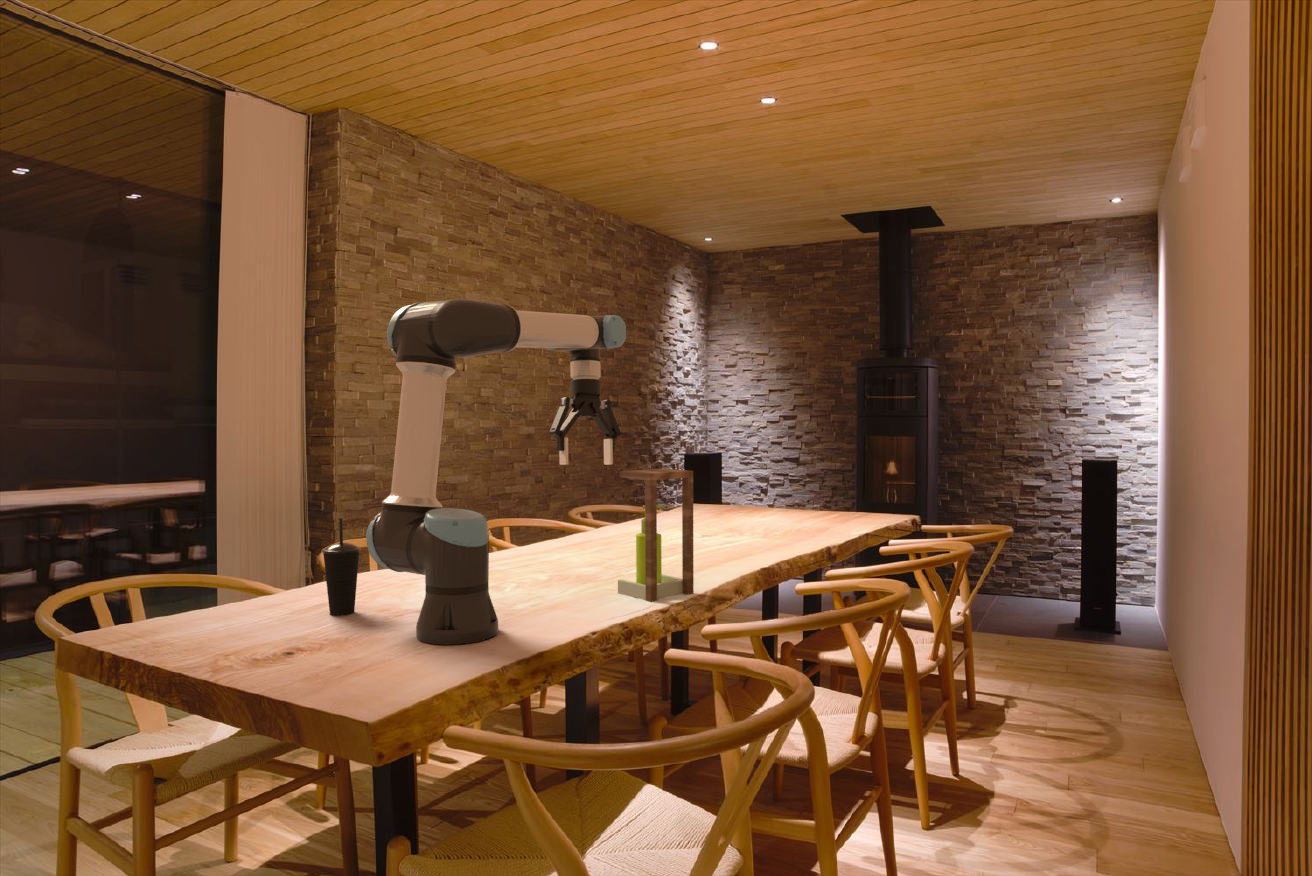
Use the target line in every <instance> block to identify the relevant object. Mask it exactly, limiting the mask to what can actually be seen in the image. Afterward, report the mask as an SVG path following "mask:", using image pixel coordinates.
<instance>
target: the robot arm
mask: <svg viewBox="0 0 1312 876" xmlns="http://www.w3.org/2000/svg"><path fill="white" fill-rule="evenodd" d="M386 332H387V333H386V339H387V343H388V346H389V347H390V348H391V349H390V350H391V352H392V354H393V355H394V356H395V357H396V361H395V366H396V367H397V369H398V370H399V371H400V373H401V374H402V380H401V390H400V400H399V407H398V408H399V410H398V419H397V420H398V421H397V429H396V438H395V440H396V441H395V449H394V450H395V451H394V459H393V460H394V461H393V467H392V469H393V470H392V479H391V480H392V481H391V489H390V494H389V495H388V496H387V497H385V498H384V499H383V500H382V502H381V510H380V513H379V512H378V514H377V515H375V516H374V518H373V520H371V521H370V522H369V524H368V526H367V530H366V534H365V535H366V538H365V540H366V542H365V543H366V547H367V550H368V553H369V555H370V556H371V558H372V559H373V560H374V562H375V563H376V564H378V565H379V566H381V568H382V567H383V568H385V569H388V570H391V571H394V572H397V573H410V574H416V575H423V576H425V578H424V579H425V581H424V582H425V595H424V596H425V597H424V599H423V603H422V606H421V610H420V612H419V616H418V619H417V622H416V626H415V627H416V628H415V630H416V632H415V634H416V637H415V638H416V639H417V640H418V641H421V642H423V643H428V644H433V645H434V644H435V645H461V644H460V643H465V644H470V643H472V644H473V643H477V641H478V642H481V641H485V639H486V640H488V638H489V639H491V637H492V638H494V637H495V636H497V634H499V619H498V616H497V614H496V610H495V607H494V605H493V602H492V598H491V595H490V593H489V591H490V589H489V574H490V573H489V568H490V567H489V563H490V561H489V558H490V557H489V556H490V554H489V553H490V548H489V547H490V546H489V545H490V544H489V543H490V534H489V529H488V528H489V527H488V526H489V525H488V520H487V518H486V517H485V516H484V515H483V514H482V513H479V511H478V512H477V511H475V510H470V509H463V508H455V507H453V508H452V507H443V504H442V503H441V502H440V501H439V500H438V499H437V496H436V494H437V484H438V483H437V482H438V473H439V463H440V454H441V453H440V452H441V442H442V431H443V424H444V423H443V421H444V411H445V402H446V389H447V381H448V379H449V378H450V377H451V376H452V375H453V374H455V373H456V364H457V359H466V358H471V357H476V356H477V357H478V356H482V355H487V354H493V353H494V354H495V353H509V352H511V351H513V350H514V349H516V348H519V349H520V348H522V349H523V348H524V349H525V348H527V349H530V348H532V349H535V348H536V349H545V350H546V351H547V350H548V351H550V352H551V351H554V352H561V353H565V354H566V353H567V354H569V355H570V356H569V359H570V361H569V362H570V370H569V371H570V373H569V374H570V379H572V380H571V381H570V383H569V384H570V396H571V397H570V396H567V397H566V396H565V397H561V398H560V400H559V408H558V410H557V412H556V415H555V416H554V419H553V422H552V425H551V427H550V429H549V431H548V432H549V433H548V434H549V435H550V436H553V437H554V438H555V439H556V450H557V451H558V453H559V455H558V456H559V466H560V465H561V466H562V465H563V466H564V465H569V437H566V436H567V434H568V433H569V431H570V429H571V428H572V427H573V425H574V424H575V423H576V421H577V420H578V419H579V418H580V417H581V418H582V417H583V418H584V417H585V418H591V419H592V420H594V421H595V424H597V426H598V427H599V429H600V430H601V432H602V434H603V435H604V436H605V437H606V438H604V439H603V465H605V466H609V465H613V464H614V457H613V456H614V455H613V454H614V452H615V450H616V449H615V440H616V439H617V438H618V437H620V436H622V432H621V430H620V427H619V425H618V422H617V420H616V417H615V415H614V412H613V410H612V404H611V403H612V402H611V400H610V399H604V400H603V399H602V400H601V399H600V397H601V393H602V392H601V391H602V387H601V385H602V384H601V381H600V378H601V377H602V372H601V371H602V369H601V350H603V349H604V350H605V349H607V350H608V349H609V350H610V349H616V348H617V349H618V348H620V347H621V346H622V345H624V343H625V341H626V340H627V339H626V338H627V326H626V323H625V320H624V319H623V318H622V317H621V316H619V315H615V314H613V315H610V314H606V315H587V314H574V313H562V312H561V313H560V312H547V311H546V312H544V311H534V310H533V311H529V310H517V309H515V308H514V307H513V306H511V305H510V304H509V305H508V304H504V303H494V302H487V301H482V300H481V301H480V300H475V299H474V300H473V299H467V298H452V299H451V298H450V299H444V300H435V301H420V302H419V301H418V302H414V303H412V304H409V305H408V304H407V305H405V306H402V307H401V308H400V309H398V310H397V311H396V312H395V313H394V314H393V315H392V317H391V319H390V321H389V323H388V326H387V331H386ZM570 406H571V408H572V409H571V410H570ZM569 410H570V412H569ZM568 412H569V413H568ZM567 415H568V416H567ZM566 416H567V418H566ZM493 636H494V637H493Z"/></svg>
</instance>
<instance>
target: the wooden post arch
mask: <svg viewBox="0 0 1312 876" xmlns="http://www.w3.org/2000/svg"><path fill="white" fill-rule="evenodd" d="M619 478H620V479H630V480H631V479H632V480H642V481H644V505H645V509H644V518H645V580H646V600H645V601H646V602H651V603H652V602H657V601H658V598H657V533H658V531H657V526H658V522H657V519H658V517H657V514H658V513H657V510H658V508H657V505H658V504H657V498H658V497H657V493H658V491H657V490H658V489H657V481H660V480H674V479H681V481H682V483H681V488H682V489H681V497H682V498H681V503H682V504H681V509H682V510H681V513H682V517H681V519H682V521H681V522H682V527H681V531H682V534H681V535H682V536H681V537H682V538H681V539H682V540H681V541H682V544H681V545H682V549H681V550H682V554H681V555H682V556H681V557H682V560H681V561H682V562H681V563H682V564H681V565H682V576H681V577H682V581H683V593H682V594H683V595H688V596H689V595H692V594H694V470H686V469H675V468H674V469H671V468H652V469H651V468H650V469H634V470H632V469H631V470H620V471H619Z"/></svg>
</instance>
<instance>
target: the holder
mask: <svg viewBox="0 0 1312 876" xmlns="http://www.w3.org/2000/svg"><path fill="white" fill-rule="evenodd" d="M617 593H618V594H621V595H624V596H628V597H632V598H636V599H640V600H643V601H646V585H643V584H639V583H636V582H634V581H631V580H625V579H618V580H617ZM682 594H683V581H682V578H680V577H676V576H672V575H668V574H663V573H662V583H658V584H657V599H660V598H665V597H666V598H667V597H671V596H675V595H682Z"/></svg>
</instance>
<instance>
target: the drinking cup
mask: <svg viewBox="0 0 1312 876" xmlns="http://www.w3.org/2000/svg"><path fill="white" fill-rule="evenodd" d="M343 521H344V518H342V517H339V519H338V522H339V523H338V524H339V526H338V527H339V528H338V529H339V542H337V543H332V544H329V545H328V546H327V547H325V548H322V549H321V553H322V555H323V562H324V571H325V581H326V591H327V592H326V593H327V599H328V601H327V602H328V607H329V615H330V616H334V617H336V616H337V617H341V616H342V615H343V616H349V615H352V614H353V615H354V613H355V609H356V608H355V605H356V595H357V581H358V572H359V571H358V570H359V561H360V560H359V559H360V551H361V550H362V549H361V547H360V546H357V545H356V544H353V543H349V542H344V530H343V529H344V523H343Z"/></svg>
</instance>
